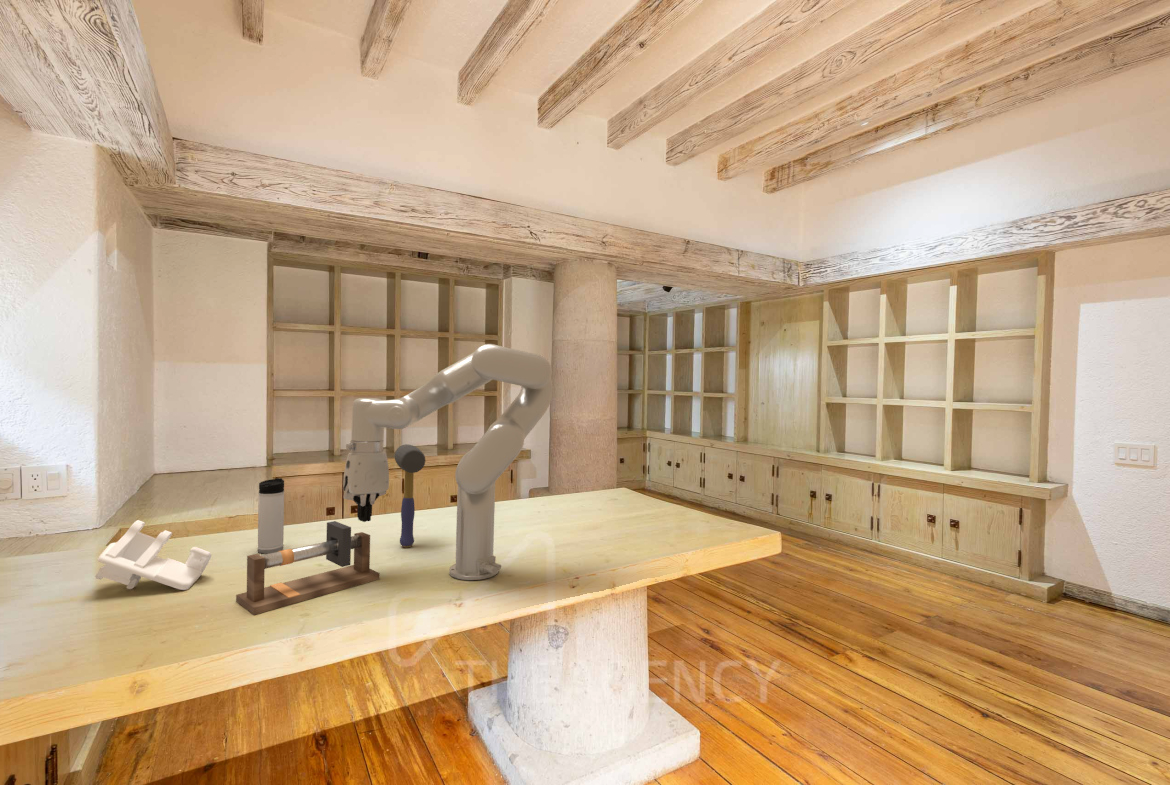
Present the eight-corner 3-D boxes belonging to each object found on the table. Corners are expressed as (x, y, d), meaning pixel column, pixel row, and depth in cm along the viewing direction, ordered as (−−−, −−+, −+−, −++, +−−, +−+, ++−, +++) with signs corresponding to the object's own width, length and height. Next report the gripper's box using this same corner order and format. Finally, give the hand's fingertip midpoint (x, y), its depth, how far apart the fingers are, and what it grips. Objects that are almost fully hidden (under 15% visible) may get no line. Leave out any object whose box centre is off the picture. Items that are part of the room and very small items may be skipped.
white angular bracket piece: (189, 595, 132) (218, 546, 134) (172, 614, 121) (204, 560, 123) (99, 564, 126) (131, 513, 128) (72, 581, 115) (108, 526, 117)
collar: (334, 557, 133) (334, 521, 133) (350, 564, 128) (351, 527, 128) (326, 559, 131) (326, 522, 131) (342, 567, 126) (342, 528, 126)
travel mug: (288, 547, 155) (290, 478, 155) (273, 554, 149) (274, 482, 148) (268, 546, 156) (269, 477, 156) (252, 553, 149) (253, 481, 149)
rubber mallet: (424, 551, 155) (427, 448, 155) (397, 554, 152) (400, 448, 151) (415, 539, 166) (418, 442, 165) (389, 542, 163) (393, 443, 162)
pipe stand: (358, 569, 139) (359, 528, 139) (379, 579, 133) (380, 536, 133) (236, 601, 117) (236, 553, 117) (253, 614, 111) (254, 563, 111)
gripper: (345, 451, 126) (342, 528, 127) (402, 447, 138) (399, 518, 138) (330, 447, 131) (327, 522, 131) (386, 444, 143) (383, 513, 143)
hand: (364, 520), depth 135 cm, fingers closed
